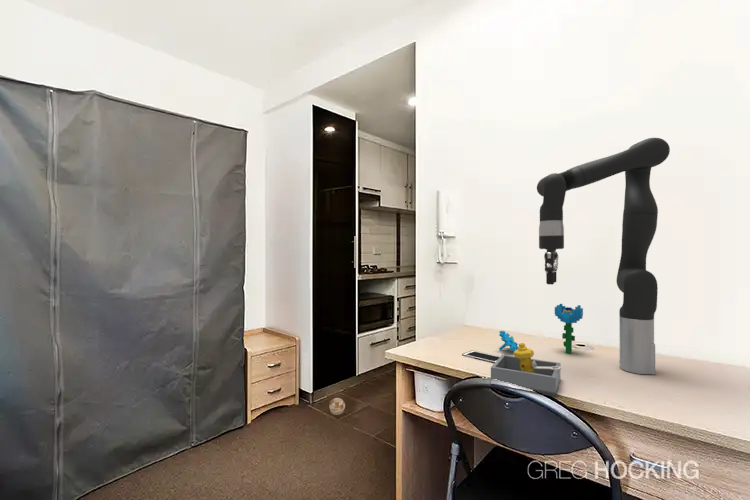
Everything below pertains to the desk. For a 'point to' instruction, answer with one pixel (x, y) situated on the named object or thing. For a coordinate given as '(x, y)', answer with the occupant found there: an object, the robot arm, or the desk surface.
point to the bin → (527, 374)
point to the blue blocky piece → (508, 341)
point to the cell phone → (481, 356)
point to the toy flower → (568, 322)
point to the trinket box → (337, 406)
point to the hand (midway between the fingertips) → (551, 283)
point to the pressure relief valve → (528, 359)
